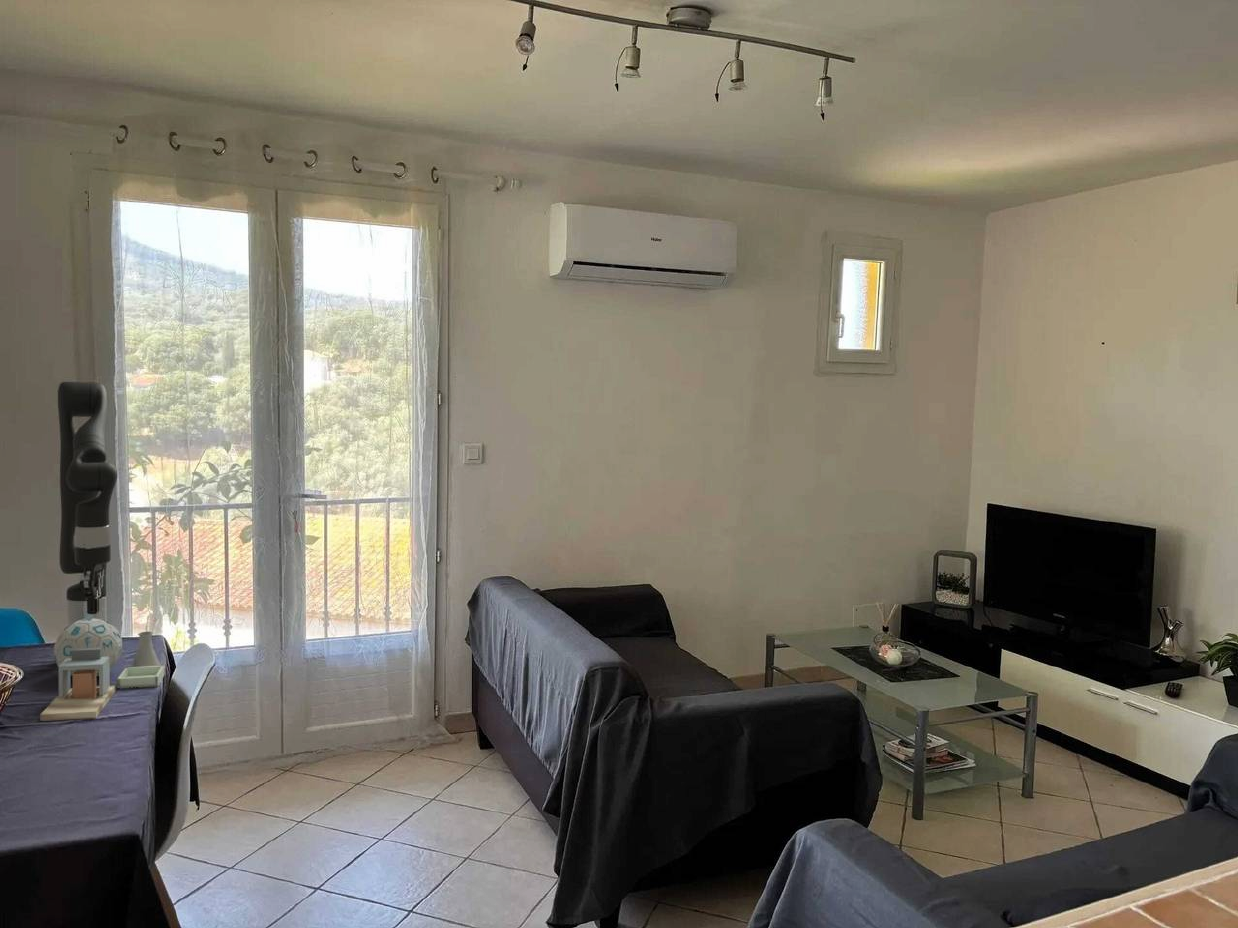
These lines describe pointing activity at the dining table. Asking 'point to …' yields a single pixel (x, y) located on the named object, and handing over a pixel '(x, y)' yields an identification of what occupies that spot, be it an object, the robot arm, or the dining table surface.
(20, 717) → the dining table surface
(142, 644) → the flask
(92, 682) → the terracotta block
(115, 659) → the puzzle ball
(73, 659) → the sliding cover
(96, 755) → the dining table surface
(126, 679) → the pale sage tray
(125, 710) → the dining table surface
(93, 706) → the puzzle board
